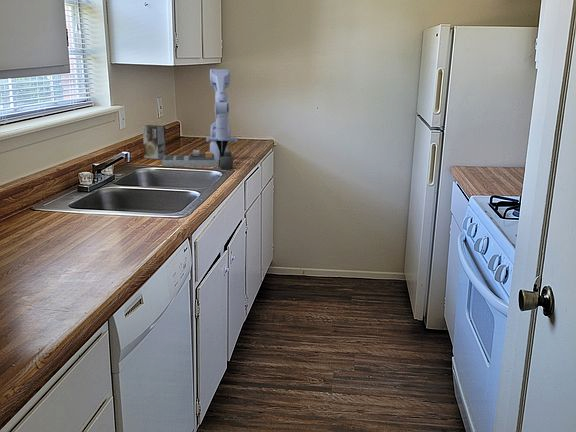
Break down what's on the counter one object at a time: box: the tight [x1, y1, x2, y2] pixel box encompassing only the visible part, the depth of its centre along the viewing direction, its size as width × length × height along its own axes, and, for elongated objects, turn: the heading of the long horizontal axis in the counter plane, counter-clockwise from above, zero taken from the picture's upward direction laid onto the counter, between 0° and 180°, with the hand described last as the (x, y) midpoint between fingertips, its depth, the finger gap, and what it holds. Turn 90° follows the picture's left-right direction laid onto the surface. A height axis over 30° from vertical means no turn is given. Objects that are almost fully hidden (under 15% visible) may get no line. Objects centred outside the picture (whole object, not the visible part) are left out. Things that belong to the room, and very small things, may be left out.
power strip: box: [161, 149, 220, 168], centre depth 276 cm, size 26×13×6 cm, turn 98°
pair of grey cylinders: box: [219, 151, 234, 170], centre depth 275 cm, size 6×21×5 cm, turn 8°
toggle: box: [205, 151, 212, 158], centre depth 274 cm, size 3×4×3 cm
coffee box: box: [142, 124, 167, 160], centre depth 290 cm, size 9×6×16 cm
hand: (221, 157), depth 275 cm, fingers closed
